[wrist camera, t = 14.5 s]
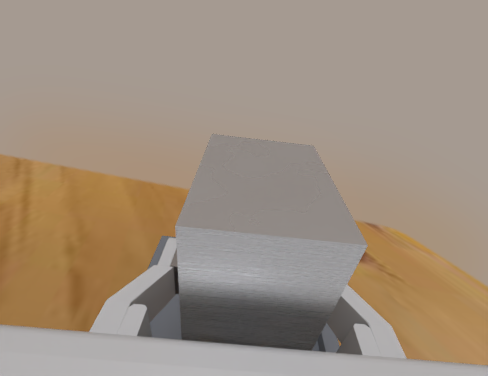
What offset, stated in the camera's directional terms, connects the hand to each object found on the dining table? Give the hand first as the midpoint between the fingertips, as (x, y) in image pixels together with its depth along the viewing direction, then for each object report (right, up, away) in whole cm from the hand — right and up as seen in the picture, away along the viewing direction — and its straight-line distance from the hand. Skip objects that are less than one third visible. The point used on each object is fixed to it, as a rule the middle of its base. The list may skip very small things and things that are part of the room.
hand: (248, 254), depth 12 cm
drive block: (-1, -6, +3) cm, 7 cm away
